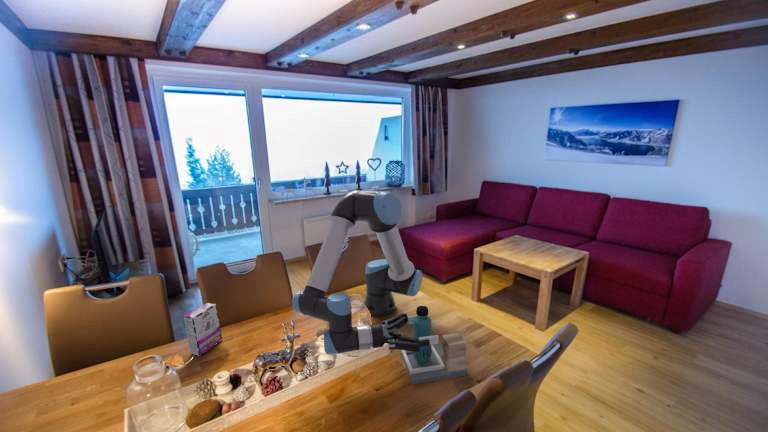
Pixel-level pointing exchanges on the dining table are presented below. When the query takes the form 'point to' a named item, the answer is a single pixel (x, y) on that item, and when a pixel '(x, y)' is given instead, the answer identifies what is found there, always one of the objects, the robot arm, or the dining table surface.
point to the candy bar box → (202, 328)
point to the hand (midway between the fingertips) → (431, 328)
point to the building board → (429, 367)
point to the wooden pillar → (453, 352)
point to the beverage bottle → (422, 333)
